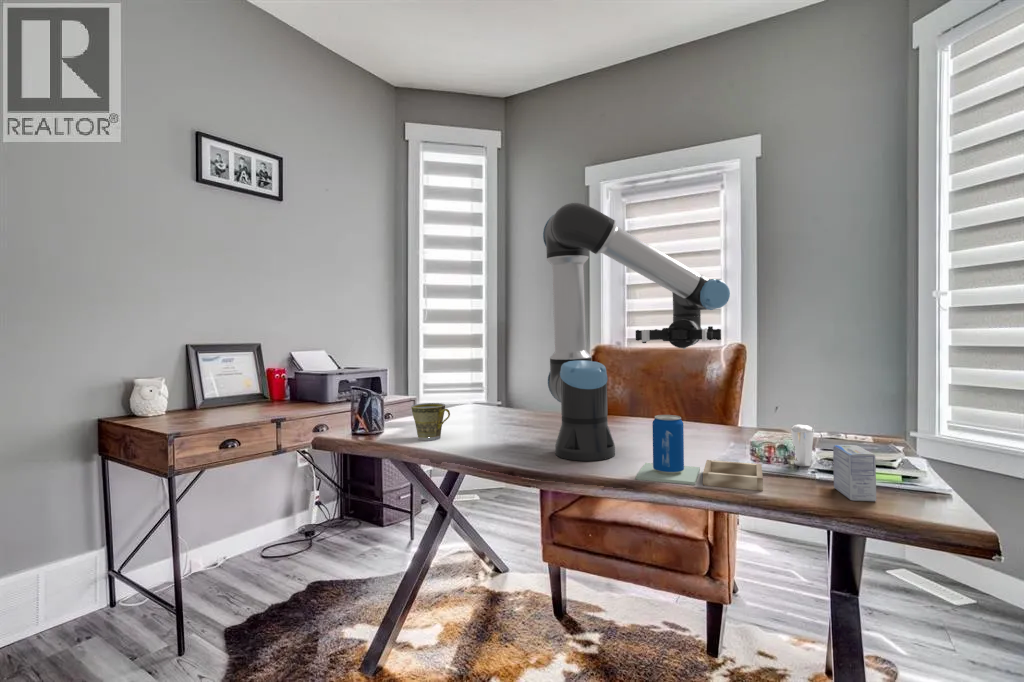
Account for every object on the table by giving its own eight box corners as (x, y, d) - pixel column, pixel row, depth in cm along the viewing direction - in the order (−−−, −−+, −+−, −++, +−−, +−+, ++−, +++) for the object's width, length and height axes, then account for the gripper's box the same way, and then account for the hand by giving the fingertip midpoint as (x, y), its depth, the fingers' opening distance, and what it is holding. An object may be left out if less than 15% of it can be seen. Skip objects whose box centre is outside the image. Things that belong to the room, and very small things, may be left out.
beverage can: (651, 474, 115) (650, 418, 115) (655, 466, 121) (654, 413, 121) (682, 476, 113) (682, 420, 112) (685, 469, 119) (684, 415, 118)
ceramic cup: (405, 440, 158) (404, 406, 158) (427, 434, 167) (426, 402, 166) (439, 444, 151) (438, 409, 151) (460, 437, 160) (459, 404, 159)
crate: (703, 485, 109) (702, 472, 109) (706, 471, 119) (706, 459, 119) (762, 490, 104) (762, 478, 104) (761, 475, 114) (761, 464, 114)
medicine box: (877, 502, 97) (876, 454, 96) (849, 501, 97) (849, 454, 97) (858, 488, 104) (857, 444, 104) (832, 488, 105) (832, 444, 105)
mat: (635, 479, 114) (635, 476, 114) (645, 465, 125) (645, 462, 125) (695, 485, 109) (695, 482, 109) (700, 469, 120) (699, 467, 120)
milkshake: (809, 469, 118) (809, 424, 118) (787, 463, 123) (786, 420, 123) (821, 466, 120) (821, 422, 120) (799, 461, 125) (799, 418, 125)
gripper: (733, 347, 139) (730, 351, 120) (636, 347, 149) (619, 351, 130) (733, 318, 139) (730, 318, 120) (636, 320, 149) (619, 320, 130)
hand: (672, 335), depth 125 cm, fingers open, 13 cm apart
